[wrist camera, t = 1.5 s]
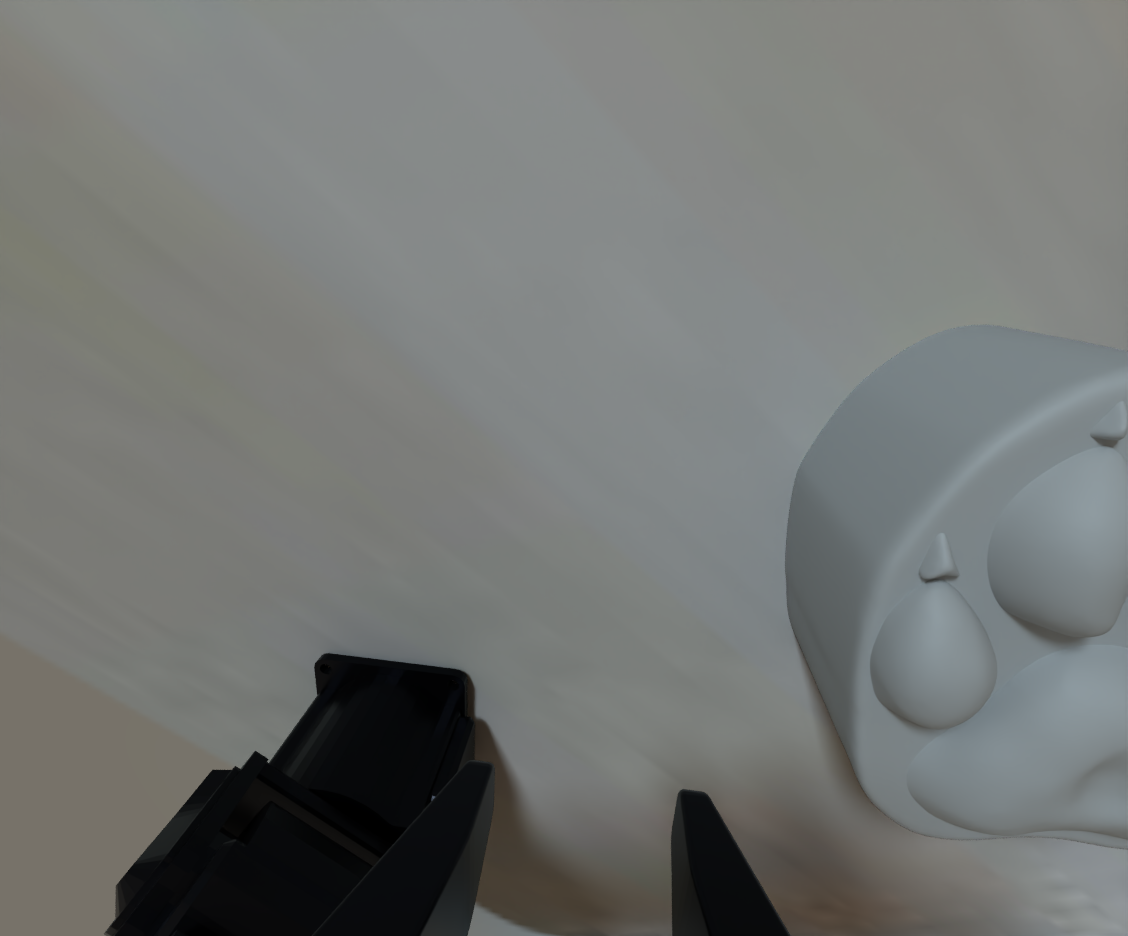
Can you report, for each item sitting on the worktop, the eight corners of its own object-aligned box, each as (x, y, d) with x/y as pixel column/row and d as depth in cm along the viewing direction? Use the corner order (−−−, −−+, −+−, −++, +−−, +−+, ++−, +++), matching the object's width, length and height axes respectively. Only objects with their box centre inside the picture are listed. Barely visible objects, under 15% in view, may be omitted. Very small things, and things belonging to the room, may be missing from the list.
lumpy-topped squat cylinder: (777, 669, 23) (855, 892, 15) (799, 333, 19) (926, 391, 11) (1067, 674, 22) (1325, 922, 14) (1163, 315, 17) (1622, 366, 9)
